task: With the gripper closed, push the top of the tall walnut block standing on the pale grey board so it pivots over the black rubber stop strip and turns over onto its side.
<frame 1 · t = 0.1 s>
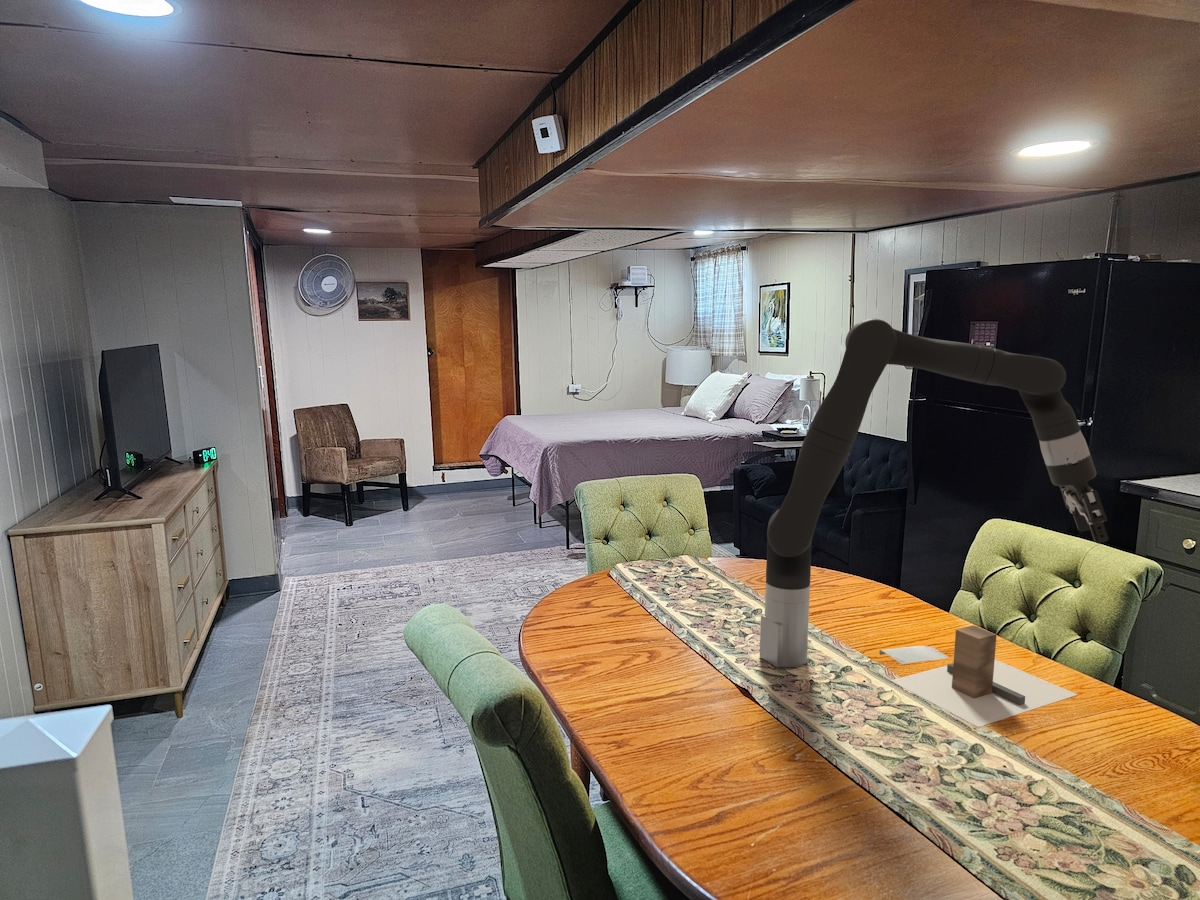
hand: (1093, 535, 142), 31 cm above the table, tool tilted 20°, fingers open, 8 cm apart
grey board: (981, 692, 146), on the table
walnut block: (971, 690, 145), point 1 cm above the table, touching grey board
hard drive: (915, 661, 162), on the table
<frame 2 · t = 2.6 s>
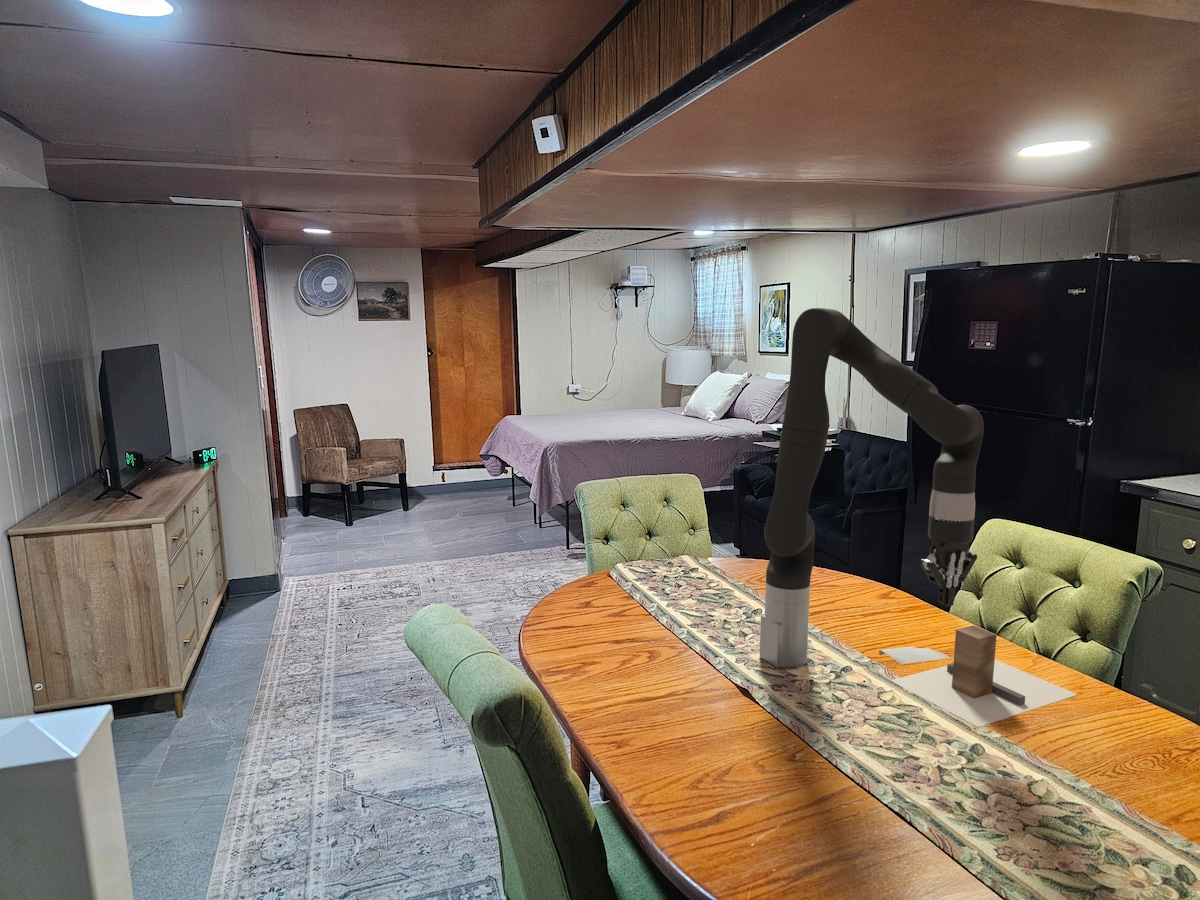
hand: (945, 605, 138), 20 cm above the table, tool pointing down, fingers closed
nothing on the table moved.
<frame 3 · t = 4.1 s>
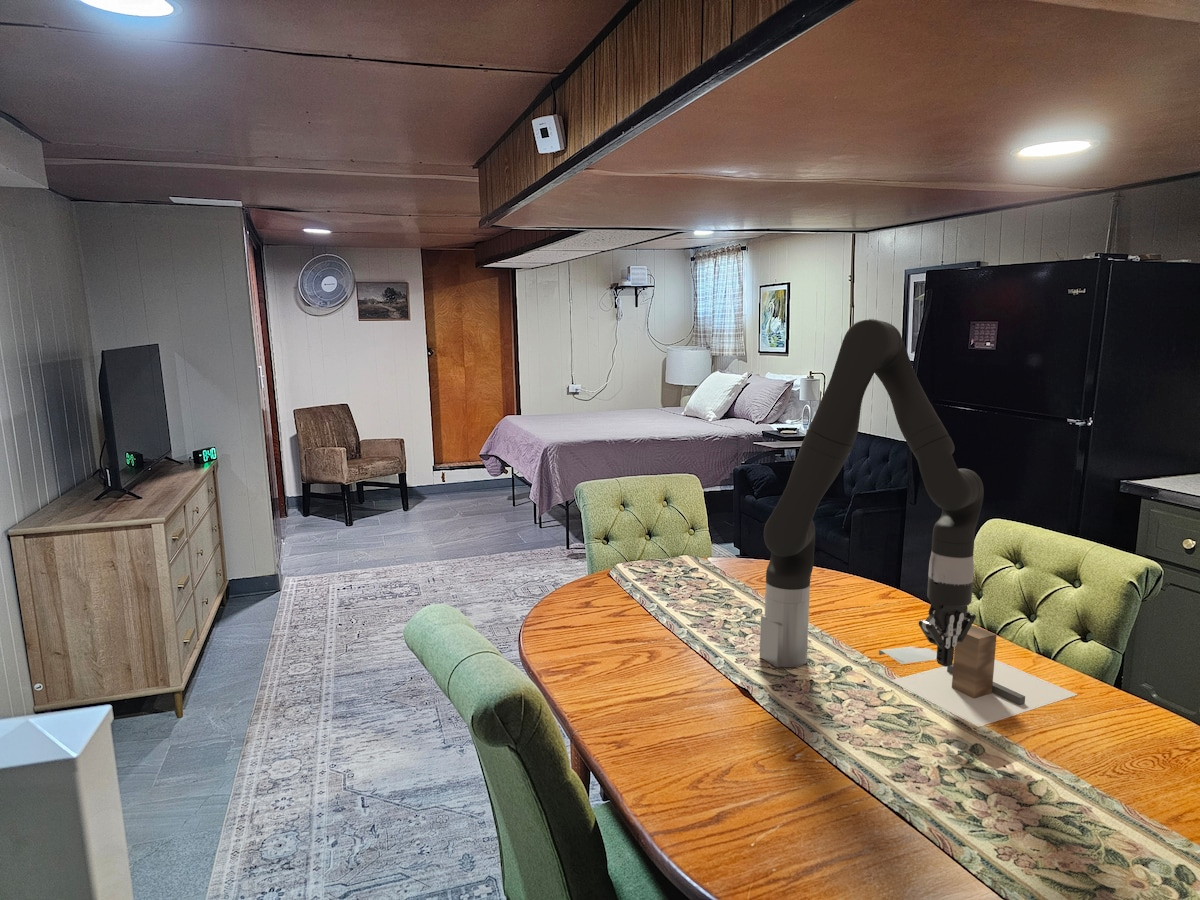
hand: (944, 664, 140), 8 cm above the table, tool pointing down, fingers closed
nothing on the table moved.
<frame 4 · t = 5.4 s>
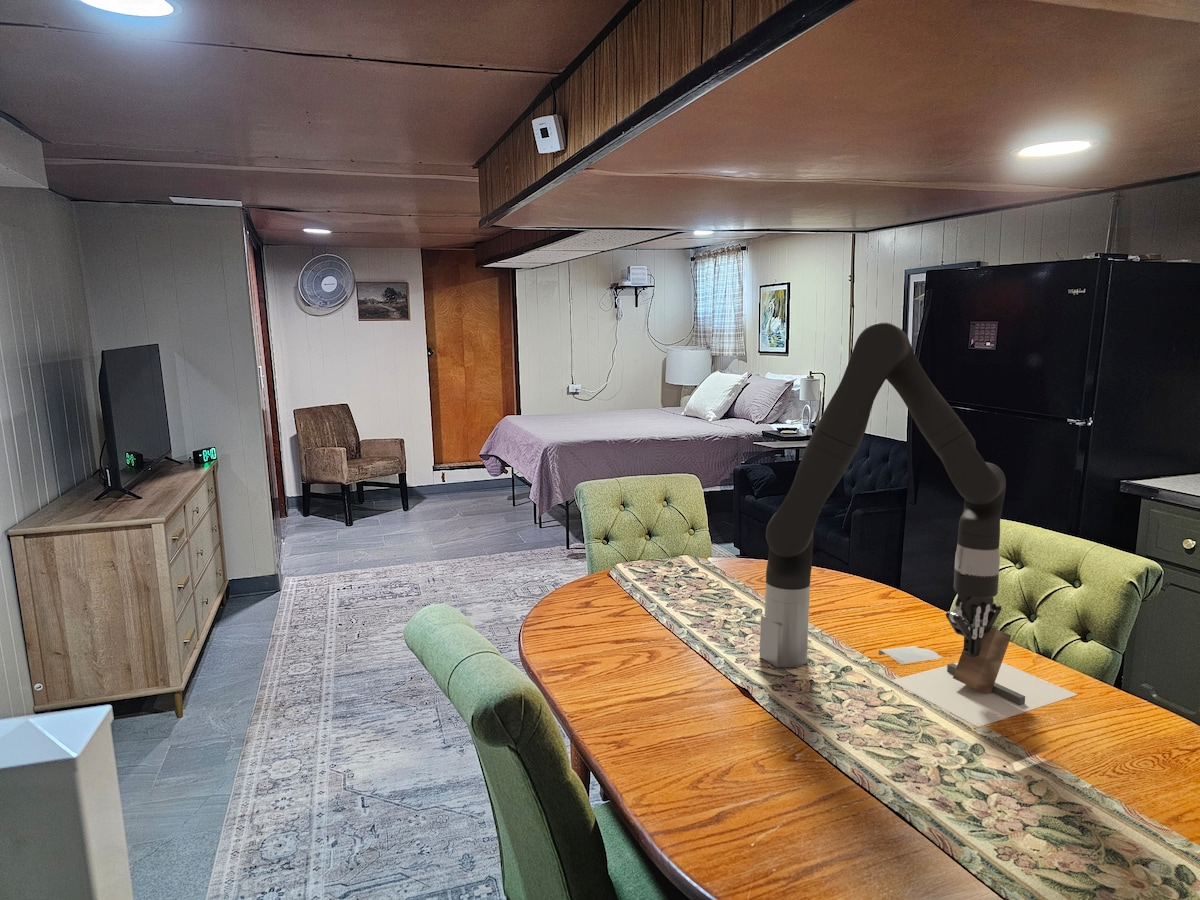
hand: (971, 655, 143), 9 cm above the table, tool pointing down, fingers closed
walnut block: (971, 685, 144), point 2 cm above the table, tilted 23°
everything else where it was.
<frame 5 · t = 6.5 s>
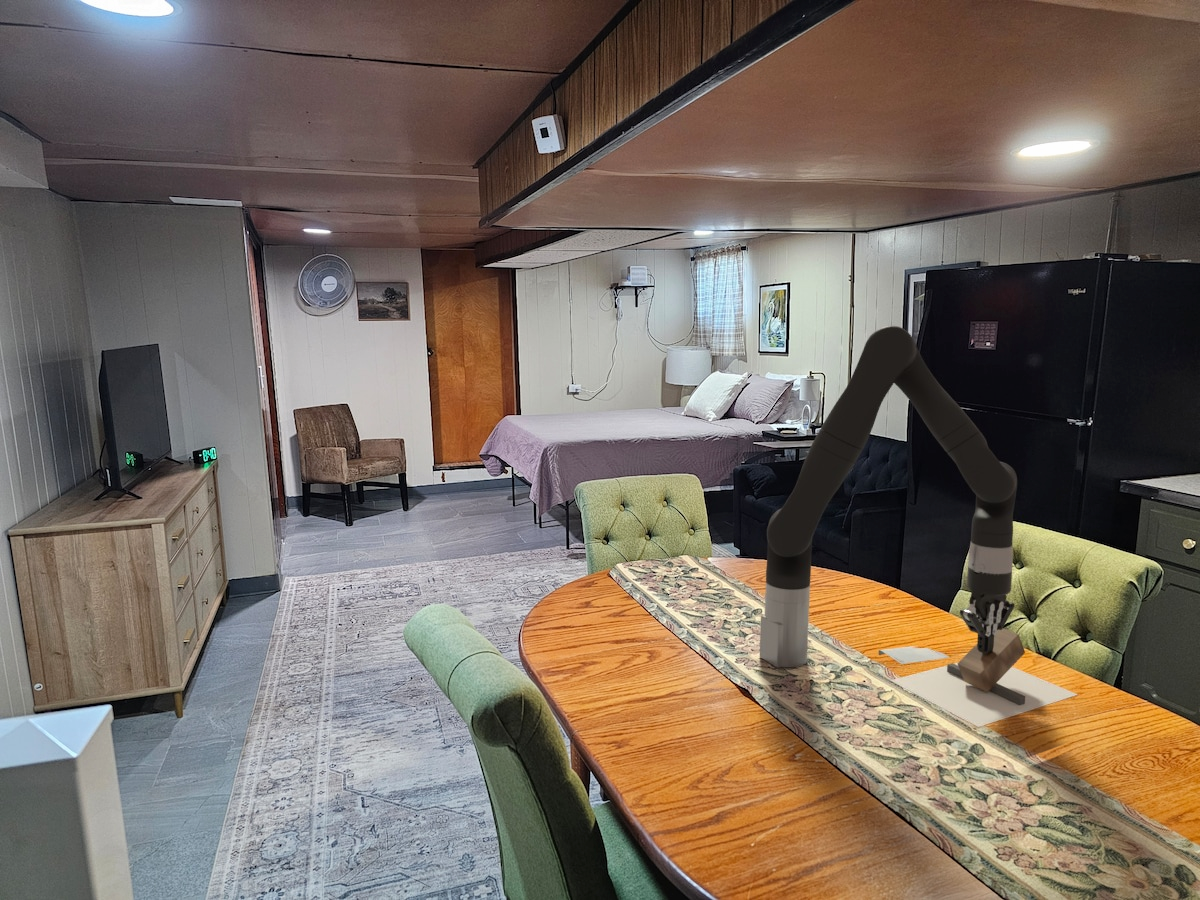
hand: (984, 652, 144), 9 cm above the table, tool pointing down, fingers closed
walnut block: (972, 677, 144), point 4 cm above the table, tilted 59°, touching grey board, gripper
everything else where it was.
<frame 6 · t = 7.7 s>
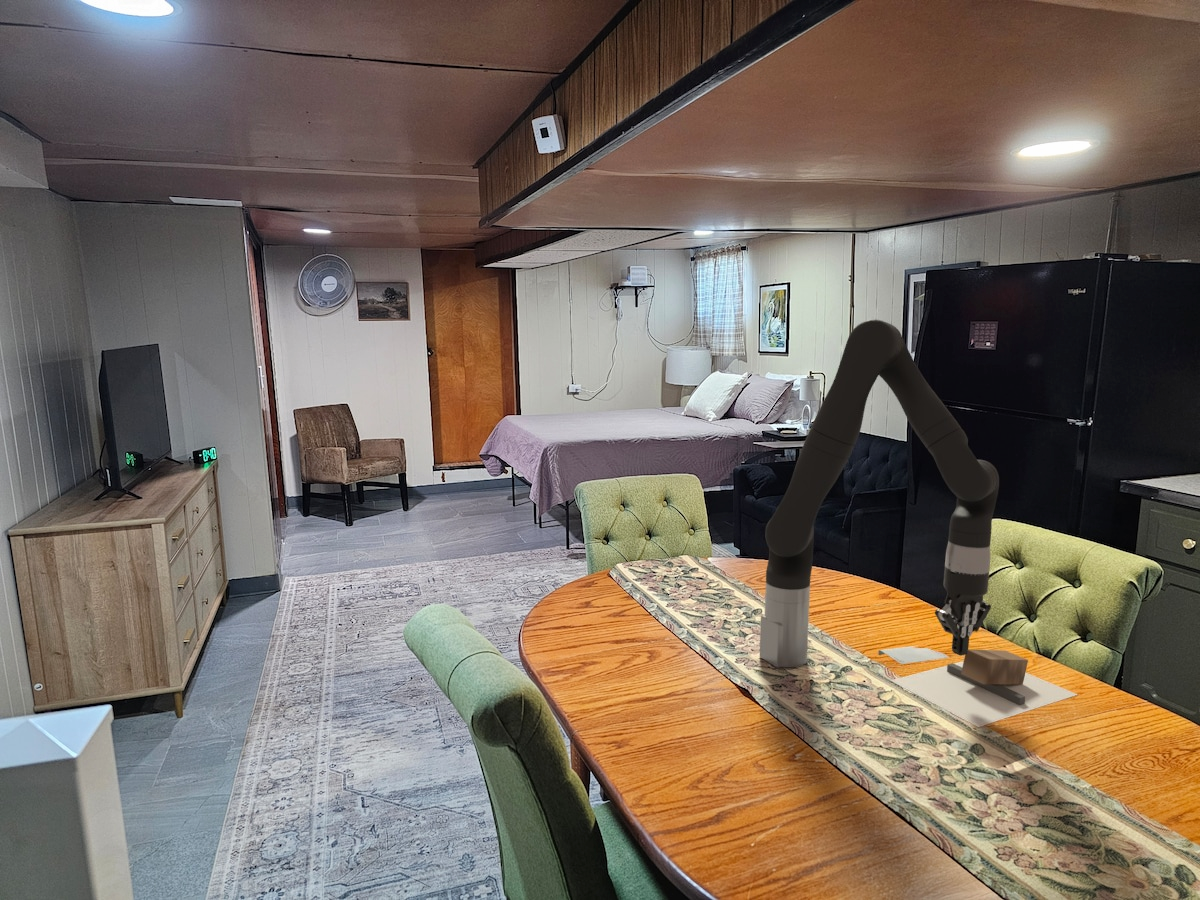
hand: (959, 653, 142), 9 cm above the table, tool pointing down, fingers closed
walnut block: (974, 666, 144), point 6 cm above the table, tilted 102°, touching grey board
everything else where it was.
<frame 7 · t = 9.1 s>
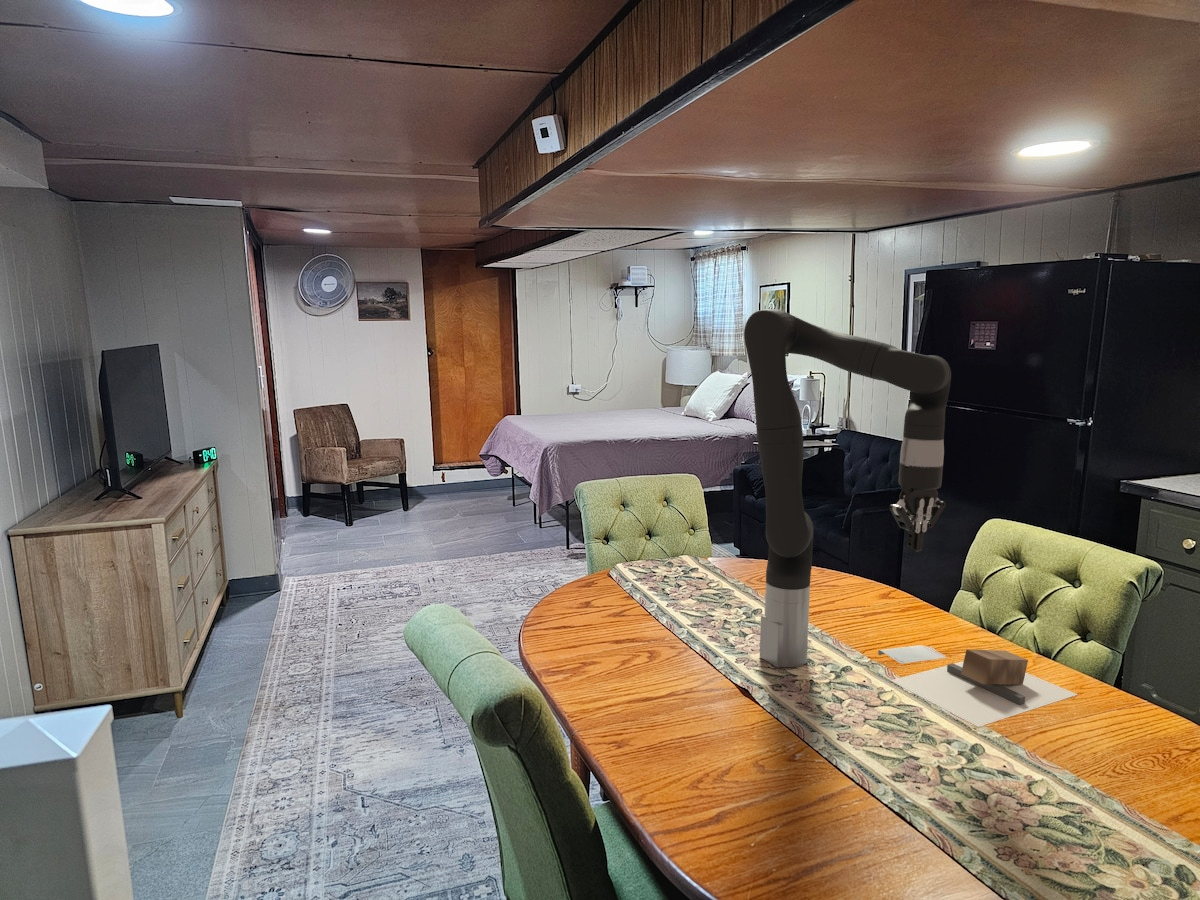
hand: (914, 550, 142), 29 cm above the table, tool pointing down, fingers closed
nothing on the table moved.
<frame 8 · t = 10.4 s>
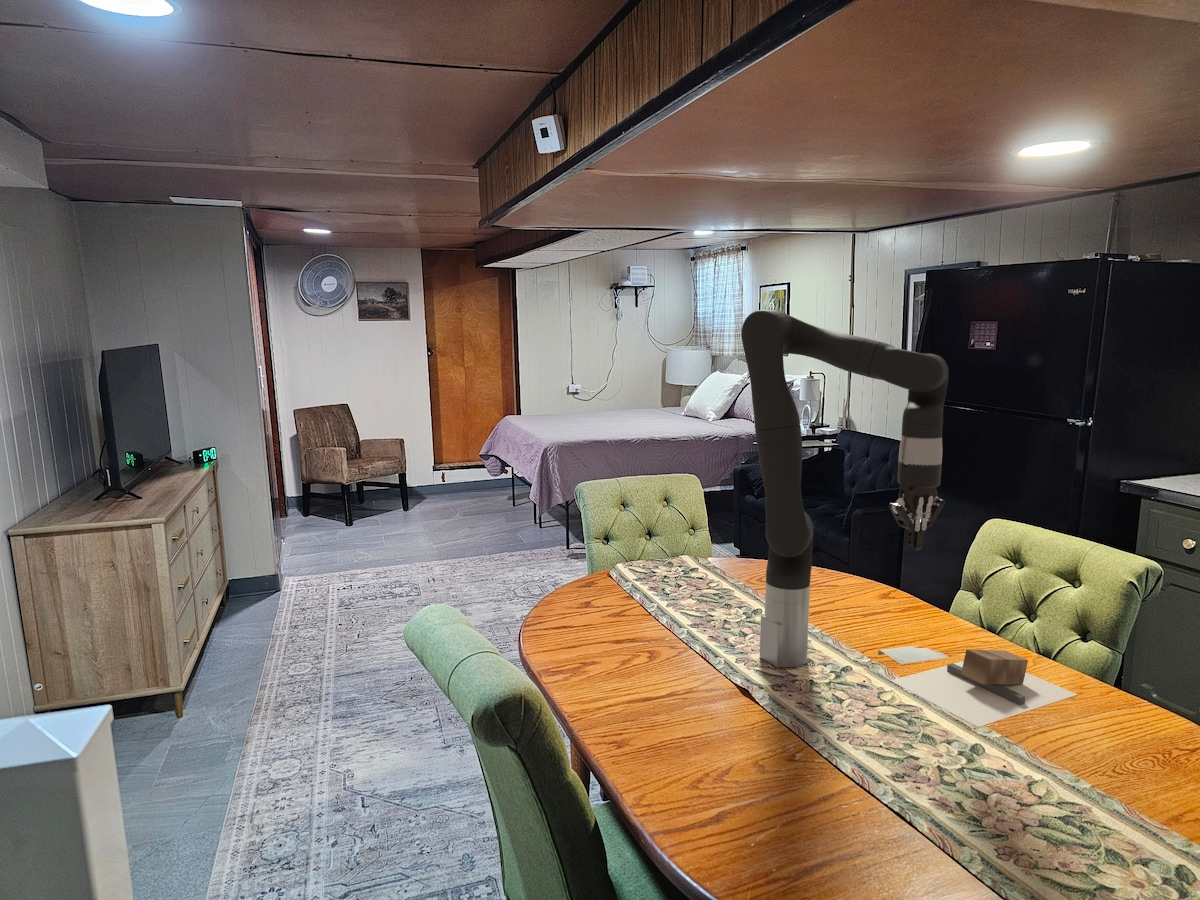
hand: (914, 548, 142), 29 cm above the table, tool pointing down, fingers closed
nothing on the table moved.
at the end: walnut block tilted 102°; walnut block inside the target area on the grey board (3.7 cm from its centre), point 5.9 cm above the grey board's base; the gripper is holding nothing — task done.
